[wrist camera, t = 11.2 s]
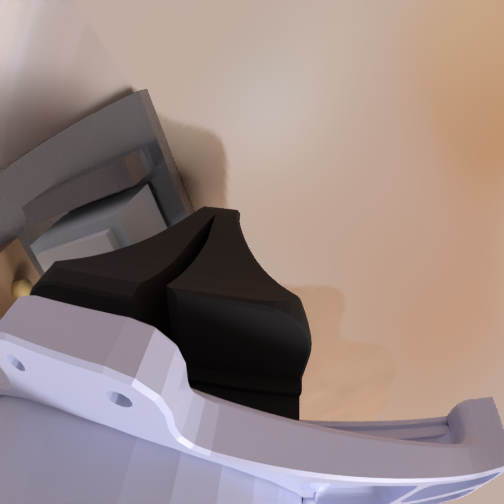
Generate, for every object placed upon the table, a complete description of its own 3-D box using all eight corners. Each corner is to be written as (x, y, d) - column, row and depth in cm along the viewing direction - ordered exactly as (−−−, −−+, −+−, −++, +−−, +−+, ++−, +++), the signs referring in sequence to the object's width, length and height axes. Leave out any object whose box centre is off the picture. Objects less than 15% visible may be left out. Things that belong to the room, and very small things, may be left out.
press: (-55, 219, 16) (-88, 247, 12) (147, 88, 11) (95, 101, 8) (20, 339, 22) (-2, 372, 18) (239, 317, 17) (228, 378, 14)
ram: (63, 215, 13) (24, 251, 11) (147, 183, 12) (111, 219, 10) (108, 294, 16) (81, 337, 13) (191, 279, 15) (171, 329, 12)
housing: (-15, 253, 16) (-52, 289, 12) (26, 233, 14) (-18, 275, 11) (18, 306, 18) (-11, 345, 15) (65, 297, 17) (31, 345, 13)
